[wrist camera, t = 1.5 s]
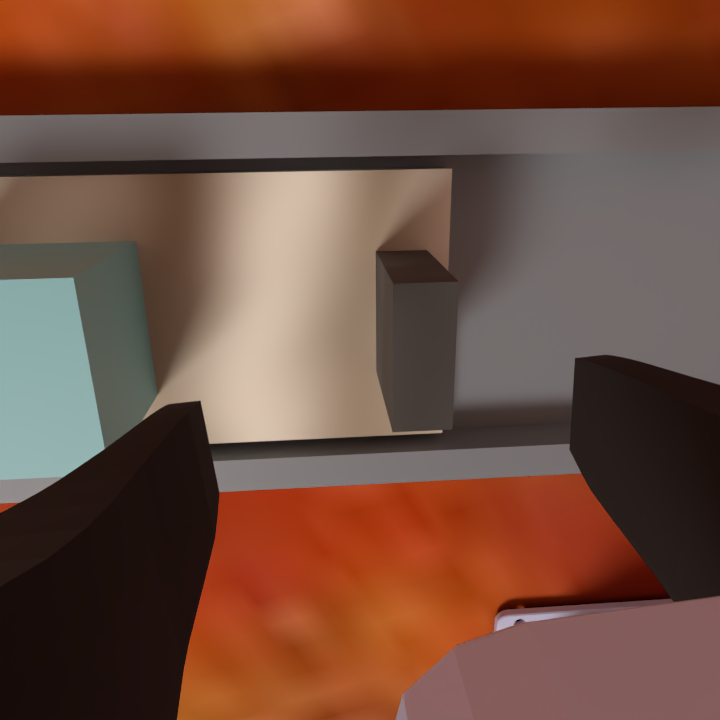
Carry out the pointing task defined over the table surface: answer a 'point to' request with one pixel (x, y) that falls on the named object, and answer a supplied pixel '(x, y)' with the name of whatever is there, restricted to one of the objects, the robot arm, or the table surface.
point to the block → (70, 354)
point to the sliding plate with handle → (277, 290)
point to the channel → (471, 259)
